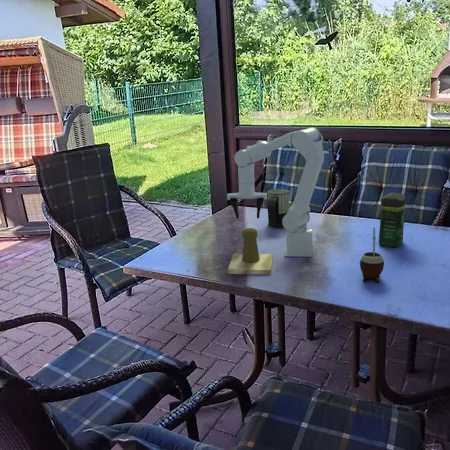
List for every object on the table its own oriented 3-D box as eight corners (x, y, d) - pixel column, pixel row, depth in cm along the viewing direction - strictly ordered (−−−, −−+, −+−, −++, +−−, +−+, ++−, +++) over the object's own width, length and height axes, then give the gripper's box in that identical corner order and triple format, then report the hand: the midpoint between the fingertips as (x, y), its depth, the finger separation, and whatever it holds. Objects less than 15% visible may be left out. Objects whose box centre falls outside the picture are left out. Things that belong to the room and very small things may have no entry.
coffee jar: (398, 249, 173) (402, 198, 167) (376, 246, 177) (378, 196, 171) (405, 240, 181) (408, 192, 175) (383, 238, 185) (385, 190, 179)
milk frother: (268, 221, 211) (267, 188, 206) (305, 221, 208) (305, 187, 203) (266, 232, 197) (265, 197, 193) (306, 232, 195) (306, 196, 190)
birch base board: (273, 258, 171) (273, 254, 171) (270, 274, 158) (270, 270, 158) (233, 257, 174) (233, 253, 173) (227, 273, 160) (227, 269, 160)
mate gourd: (369, 285, 147) (371, 238, 142) (352, 276, 154) (354, 231, 149) (389, 280, 149) (392, 234, 145) (372, 271, 156) (374, 227, 152)
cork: (259, 263, 164) (258, 231, 160) (241, 263, 164) (240, 232, 161) (259, 256, 170) (258, 226, 166) (242, 256, 170) (241, 226, 167)
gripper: (267, 179, 181) (268, 214, 185) (228, 179, 183) (230, 214, 188) (265, 183, 175) (266, 220, 179) (225, 184, 177) (227, 220, 181)
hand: (247, 217), depth 183 cm, fingers open, 7 cm apart
